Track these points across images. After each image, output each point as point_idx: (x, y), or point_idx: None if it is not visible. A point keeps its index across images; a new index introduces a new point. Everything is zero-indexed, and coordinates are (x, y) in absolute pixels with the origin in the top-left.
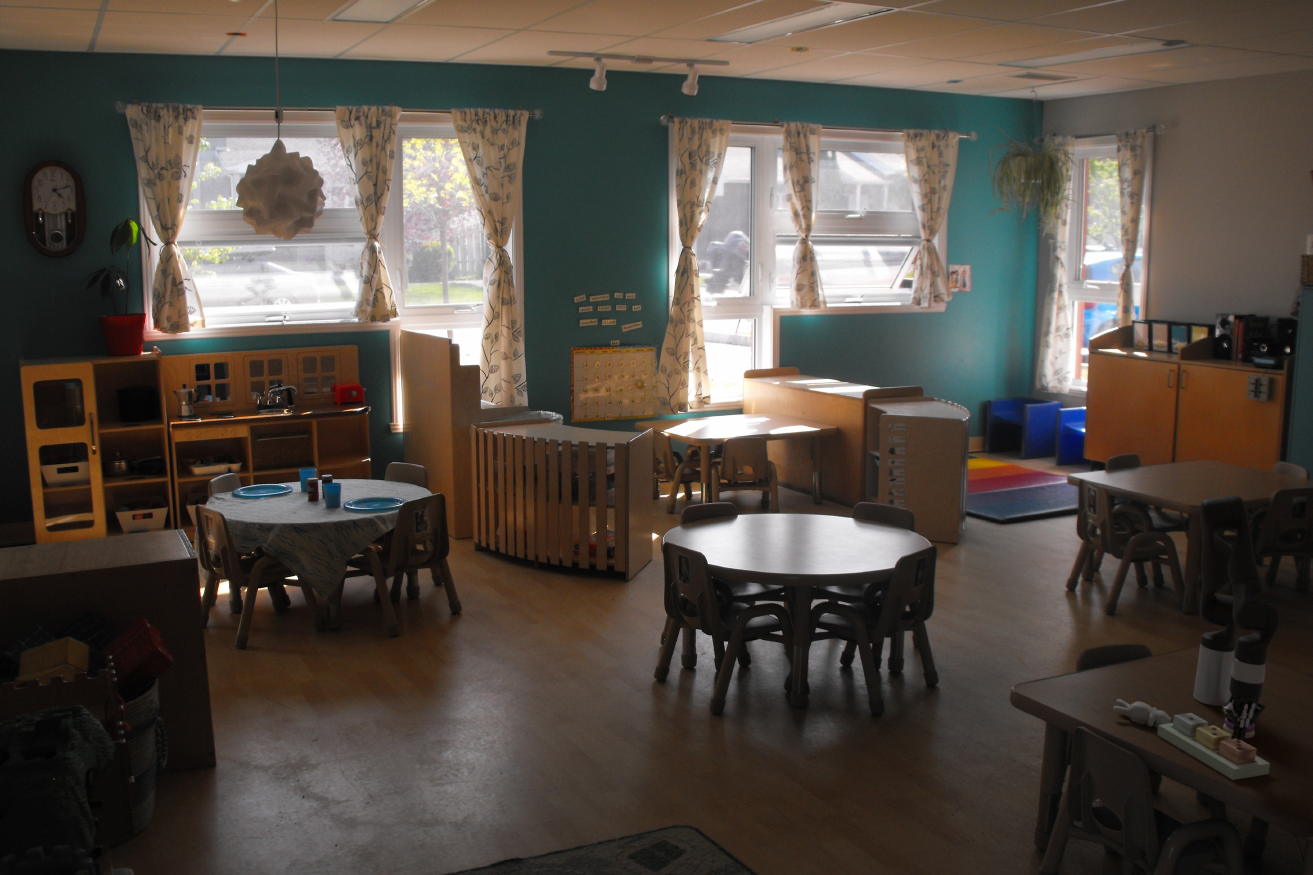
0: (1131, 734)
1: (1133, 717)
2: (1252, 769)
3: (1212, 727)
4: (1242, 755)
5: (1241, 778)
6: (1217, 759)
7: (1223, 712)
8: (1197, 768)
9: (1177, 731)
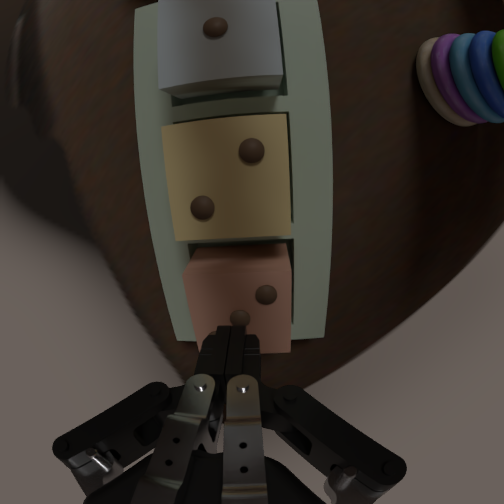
0: (80, 31)
1: None
2: None
3: (250, 140)
4: None
5: None
6: (162, 285)
7: (82, 428)
8: (125, 247)
9: None
